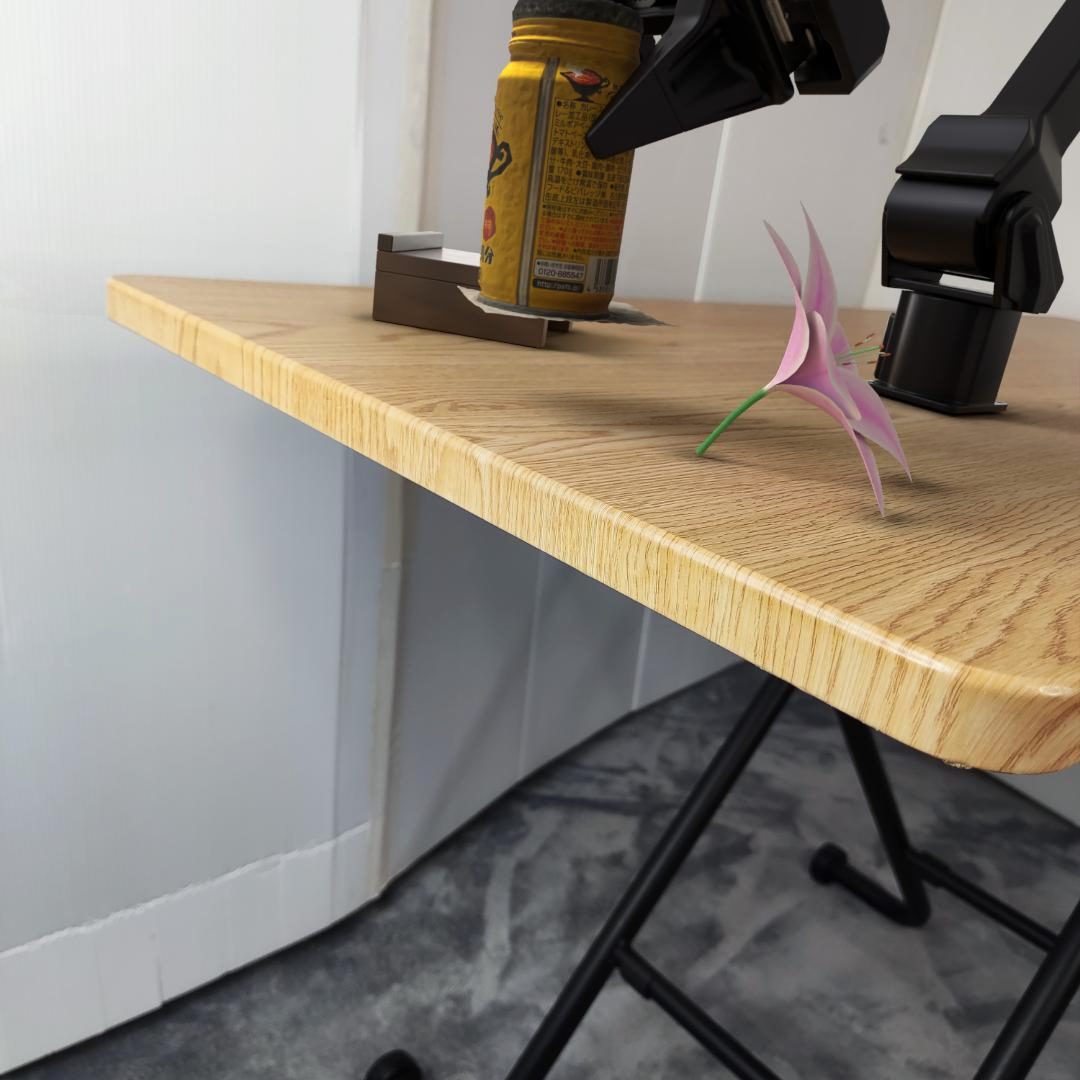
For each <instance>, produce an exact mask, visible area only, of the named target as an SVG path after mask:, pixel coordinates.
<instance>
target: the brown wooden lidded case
mask: <svg viewBox="0 0 1080 1080" xmlns="http://www.w3.org/2000/svg"><path fill="white" fill-rule="evenodd" d="M444 239H445V233H444V232H441V231H431V230H430V231H429V230H428V231H405V232H381V233H378V234H377V244H376V246H377V247H376V257H375V271H374V283H373V284H374V286H373V298H372V299H373V300H372V313H371V319H372V320H373V321H380V322H385V323H393V324H398V325H403V326H409V327H415V328H421V329H426V330H427V329H428V330H432V331H439V332H443V333H450V334H456V335H462V336H468V337H473V338H479V339H485V340H490V341H495V342H501V343H502V342H503V343H508V344H513V345H514V344H515V345H520V346H526V347H531V348H537V349H541V348H544V347H545V346H546V340H547V333H548V330H553V331H559V332H564V333H569V332H571V331H572V330H573V324H574V322H570V321H567V320H564V321H556V320H547V319H543V318H537V319H535V318H527V317H520V316H513V315H504V314H498V313H486V312H485V311H484V310H483V309H482V308H480V307H479V306H476V305H475V304H473V303H472V302H471V301H470V300H468V299H467V297H465V295H464V294H463V292H461V290H460V289H459V288H458V287H457V286H460V287H464V288H466V289H473V290H477V291H481V287H480V285H479V282H478V279H479V268H480V267H479V266H480V253H478V252H472V251H465V250H459V249H454V248H453V249H452V248H447V247H446V248H445V247H444Z"/></svg>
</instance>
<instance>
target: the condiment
mask: <svg viewBox="0 0 1080 1080" xmlns="http://www.w3.org/2000/svg"><path fill="white" fill-rule="evenodd" d="M511 13H512V14H511V17H512V18H511V21H512V30H511V39H510V40H509V42H508V52H509V54H510V57H509V62H508V64H507V65H506V66H505V67H504V68H503V69H502V71H501V73H500V74H499V75H498V78H497V82H496V83H497V85H496V92H495V95H494V99H493V100H494V111H493V123H492V131H491V132H492V133H491V142H490V154H489V163H488V170H487V175H486V186H485V187H486V192H485V193H486V195H485V201H484V209H483V210H484V211H483V223H482V227H481V247H480V253H479V254H480V266H479V267H480V268H479V279H478V282H479V285H480V287H481V291H477V290H473V289H466V288H464V287H460V286H457V287H458V288H459V289H460V290H461V292H463V294H464V295H465V297H467V299H468V300H470V301H471V302H472V303H473V304H475V305H476V306H479V307H480V308H482V309H483V310H484V311H485V312H486V313H498V314H504V315H513V316H520V317H527V318H535V319H537V318H543V319H547V320H556V321H564V320H567V321H570V322H573V323H580V322H581V323H582V322H586V323H587V322H588V323H599V324H617V325H622V324H624V325H625V324H626V325H630V326H637V327H638V326H639V327H648V326H658V327H659V326H660V327H661V326H663V327H671V328H673V327H674V328H679V326H678V325H675V324H674V325H672V324H669V323H666V322H665V321H663V320H658V319H656V318H654V317H653V316H651V315H648V314H646V313H645V312H644V311H642V310H641V309H636V308H635V307H634V305H632V304H630V303H627V302H618V301H614V300H613V298H614V296H615V289H616V280H617V274H618V268H619V259H620V255H621V247H622V241H623V234H624V227H625V221H626V215H627V207H628V200H629V196H630V195H629V194H630V188H631V187H630V186H631V179H632V175H633V174H632V173H633V168H634V160H635V153H636V149H633V150H631V151H628V152H625V153H622V154H619V155H616V156H613V157H610V158H607V159H604V160H599V159H595V158H594V157H593V155H592V153H591V152H590V150H589V148H588V146H587V145H586V143H585V134H586V133H587V131H588V130H589V128H590V127H591V126H592V124H593V123H594V121H595V120H596V119H597V117H598V116H599V115H600V113H601V112H602V110H603V109H604V108H605V106H606V105H607V104H608V103H609V101H610V100H611V99H612V98H613V96H614V95H615V94H616V93H617V92H618V90H619V89H620V88H621V87H622V85H623V84H624V83H625V82H626V80H627V79H628V78H629V77H630V76H631V74H632V73H633V72H634V71H635V69H636V68H637V67H638V66H639V65H640V54H639V47H640V41H641V35H642V34H643V30H644V27H643V19H642V17H641V16H640V15H639V13H638V12H637V11H635V10H633V9H632V8H630V7H627V6H624V5H621V4H618V3H614V2H611V1H606V0H517V2H516V4H515V5H514V8H513V10H512V12H511Z"/></svg>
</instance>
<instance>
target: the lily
mask: <svg viewBox="0 0 1080 1080" xmlns="http://www.w3.org/2000/svg"><path fill="white" fill-rule="evenodd" d="M799 203H800V207H801V210H802V213H803V216H804V219H805V224H806V226H807V232H808V241H809V243H808V244H809V252H808V254H809V255H808V265H807V272H806V278H805V285H804V290H803V280H802V277H801V272H800V268H799V266H798V263H797V262H796V259H795V257H794V255H793V253H792V252H791V251H790V249H789V247H788V246H787V244H786V243H785V241H784V240H783V239H782V237H781V236H780V235H779V233H778V232H777V231H776V230H775V228H774V227H773V226H772V225H771V224H770V223H769V222H768V221H767V220H763V219H762V222H763V224H764V226H765V229H766V230H767V233H768V235H769V237H770V239H771V241H772V243H773V245H774V248H775V249H776V251H777V254H778V256H779V257H780V260H781V262H782V264H783V267H784V270H785V271H786V273H787V276H788V278H789V281H790V283H791V284H790V285H791V286H792V289H793V290H792V291H793V294H794V302H795V317H794V322H793V327H792V331H791V334H790V337H789V340H788V343H787V347H786V350H785V353H784V355H783V358H782V361H781V363H780V366H779V368H778V370H777V372H776V374H775V376H774V377H773V378H772V380H771V381H770V382H769V383H767V384H766V385H764V387H763V388H760V389H759V390H758V391H757V392H755V393H754V394H752V395H751V396H749V398H747V399H746V400H745V401H743V402H742V403H741V404H740V405H738V407H736V408H735V409H734V410H733V411H732V412H731V413H730V414H729V415H728V416H727V417H726V418H725V419H724V420H722V422H721V423H719V425H718V426H717V427H716V428H715V429H714V430H713V431H712V432H711V434H710V435H708V437H707V438H706V439H705V440H704V441H703V442H702V443H701V444H700V446H698V448H697V449H696V450H695V453H696V454H697V455H698V456H700V457H702V455H704V453H705V452H707V450H708V449H709V448H710V447H711V446H712V445H713V443H715V441H716V440H717V439H718V438H719V437H720V436H721V435H722V434H723V433H724V432H725V431H726V430H727V429H728V428H729V426H731V425H732V424H733V423H734V422H735V420H737V419H738V418H739V417H740V416H741V415H742V414H744V412H746V411H747V410H748V409H750V408H751V407H752V406H753V405H754V404H756V403H758V402H759V401H760V400H762V399H764V398H765V397H766V396H768V395H769V394H772V393H775V392H784V393H787V394H790V395H792V396H793V397H797V398H798V399H800V400H803V401H804V402H807V403H809V404H811V405H813V406H814V407H816V408H818V409H819V410H821V411H823V412H824V413H826V414H827V415H828V416H830V417H831V418H832V419H833V420H835V421H836V422H837V423H838V424H839V425H840V426H841V427H842V428H843V429H844V430H845V431H846V432H847V435H849V437H850V438H851V439H852V441H853V442H854V444H855V446H856V448H857V450H858V452H859V454H860V456H861V459H862V461H863V463H864V467H865V470H866V472H867V475H868V478H869V480H870V483H871V486H872V489H873V492H874V495H875V498H876V502H877V504H878V507H879V510H880V513H881V517H882V518H884V517H885V500H884V493H883V486H882V481H881V478H880V472H879V468H878V464H877V461H876V459H875V454H874V452H873V450H872V449H871V447H870V445H869V443H868V441H867V439H869V440H870V441H872V442H874V443H875V444H877V445H878V446H880V447H881V448H882V449H884V450H886V451H887V452H888V453H890V455H892V456H893V458H895V459H896V460H897V461H898V462H899V463H900V464H901V466H902V467H903V469H904V470H905V473H906V474H907V476H908V479H909V480H910V481H911V483H913V480H912V476H911V472H910V469H909V465H908V461H907V458H906V455H905V452H904V449H903V447H902V444H901V440H900V439H899V435H898V433H897V430H896V428H895V425H894V423H893V420H892V419H891V415H890V414H889V411H888V410H887V408H886V407H885V404H884V403H883V401H882V400H881V398H880V396H879V393H878V392H875V391H874V390H873V389H872V387H871V386H870V385H869V384H868V383H867V381H866V380H867V379H865V378H863V377H861V376H860V375H859V369H858V364H860V363H867V364H868V365H870V364H871V365H872V364H876V363H877V360H872V359H866V360H858V361H857V360H856V359H860V358H863V357H867V356H871V355H879V354H881V356H889V355H890V353H887V354H885V353H884V352H880V351H879V352H873V351H876V350H880V349H883V347H884V346H883V345H882V343H880V344H879V345H876V346H872V347H868V348H864V349H860V350H856V351H853V349H856V348H857V347H859V346H861V345H862V344H864V343H866V342H868V341H869V340H871V338H872V337H873V336H875V332H873V333H871V334H869V335H868V336H866V337H865V340H863V341H859V342H857V343H855V344H854V345H853V346H852V347H851V346H850V343H849V341H848V338H847V335H846V332H845V330H844V328H843V326H842V324H841V322H839V320H838V316H839V303H838V302H839V301H838V291H837V288H836V287H837V286H836V283H835V278H834V275H833V270H832V267H831V265H830V262H829V259H828V257H827V254H826V251H825V249H824V246H823V243H822V241H821V239H820V237H819V235H818V232H817V230H816V228H815V226H814V224H813V222H812V220H811V217H810V216H809V214H808V212H807V210H806V207H805V206H804V204H803V202H802V201H801V200H799ZM802 294H803V295H802ZM869 352H870V353H869ZM864 353H866V354H864ZM860 354H861V355H860ZM856 355H857V356H856ZM865 437H866V438H865Z"/></svg>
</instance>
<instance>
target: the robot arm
mask: <svg viewBox="0 0 1080 1080" xmlns="http://www.w3.org/2000/svg"><path fill="white" fill-rule="evenodd" d="M606 1H611V2H614V3H618V4H621V5H624V6H627V7H630V8H632V9H633V10H635V11H637V12H638V13H639V15H640V16H641V17H642V19H643V27H644V30H643V34H642V35H641V41H640V47H639V54H640V65H639V66H638V67H637V68H636V69H635V71H634V72H633V73H632V74H631V76H630V77H629V78H628V79H627V80H626V82H625V83H624V84H623V85H622V87H621V88H620V89H619V90H618V92H617V93H616V94H615V95H614V96H613V98H612V99H611V100H610V101H609V103H608V104H607V105H606V106H605V108H604V109H603V110H602V112H601V113H600V115H599V116H598V117H597V119H596V120H595V121H594V123H593V124H592V126H591V127H590V128H589V130H588V131H587V133H586V134H585V143H586V145H587V146H588V148H589V150H590V152H591V153H592V155H593V157H594V158H595V159H599V160H604V159H607V158H610V157H613V156H616V155H619V154H622V153H625V152H628V151H631V150H633V149H635V150H637V149H640V148H642V147H645V146H648V145H651V144H654V143H656V142H657V143H658V142H660V141H663V140H665V139H669V138H671V137H674V136H678V135H680V134H683V133H688V132H690V131H694V130H696V129H700V128H702V127H705V126H708V125H712V124H715V123H718V122H721V121H724V120H728V119H731V118H734V117H737V116H741V115H744V114H748V113H751V112H754V111H756V110H760V109H763V108H767V107H771V106H781V105H782V106H783V105H784V104H786V103H788V102H790V101H791V100H792V99H793V98H794V95H795V87H796V89H797V92H798V95H799V96H850V95H851V94H852V93H853V92H854V91H855V90H856V89H857V88H858V87H859V86H860V85H861V84H862V82H864V81H865V80H866V79H867V78H868V76H869V75H870V74H872V72H874V71H875V69H876V68H877V67H878V66H879V65H881V63H882V61H883V57H884V56H885V52H886V47H887V44H888V43H887V42H888V40H889V34H890V30H891V25H890V21H889V18H888V15H887V11H886V8H885V5H884V1H883V0H606ZM656 36H660V37H661V38H660V39H659V40H658V41H656V39H655V37H656ZM791 75H793V81H794V83H793V81H792V78H791ZM794 84H795V86H794ZM1079 133H1080V0H1064V2H1063V3H1062V5H1061V6H1060V7H1059V9H1058V10H1057V12H1056V13H1055V14H1054V15H1053V17H1052V19H1051V20H1050V22H1049V23H1048V24H1047V26H1046V27H1045V28H1044V29H1043V31H1042V32H1041V34H1040V36H1039V37H1038V38H1037V40H1036V41H1035V42H1034V44H1033V45H1032V46H1031V47H1030V49H1029V51H1028V52H1027V54H1026V55H1024V58H1023V59H1022V61H1021V62H1020V63H1019V65H1018V66H1017V67H1016V68H1015V70H1014V71H1013V73H1012V74H1011V76H1010V77H1009V78H1008V80H1007V82H1006V83H1005V84H1004V86H1003V87H1002V88H1001V90H1000V91H999V93H998V94H997V95H996V97H995V98H994V99H993V101H992V102H991V103H990V105H989V106H988V107H987V108H986V109H985V110H984V111H982V112H981V113H980V114H940V115H938V116H937V117H936V118H935V119H934V120H933V121H932V122H931V123H930V124H929V125H928V126H927V127H926V129H925V131H924V132H923V135H922V137H921V138H920V140H919V141H918V144H917V145H916V147H915V149H914V150H913V151H912V153H911V154H910V155H909V156H908V157H907V158H906V159H905V160H904V161H903V162H901V163H900V164H899V165H896V167H895V169H894V173H895V174H897V175H900V176H899V178H897V180H896V181H895V182H894V184H893V186H892V187H891V189H890V191H889V192H888V195H887V196H886V199H885V202H884V203H883V211H882V217H881V256H880V257H881V259H880V261H881V262H880V263H881V264H880V265H881V266H880V269H881V271H880V285H881V286H882V287H884V288H888V289H897V290H900V293H899V298H898V302H897V305H896V310H895V311H894V312H891V313H890V314H889V315H888V316H887V317H888V318H887V321H886V325H885V329H884V332H883V336H882V340H881V344H882V345H883V346H884V347H883V349H879V352H884V353H885V354H887V353H890V355H889V356H881V354H878V356H877V360H876V361H877V363H875V368H874V371H873V377H874V379H865V380H866V381H867V383H868V384H869V385H870V386H871V387H872V389H873V390H874V391H875V392H876V393H877V394H882V395H886V396H889V397H893V398H896V399H899V400H903V401H907V402H910V403H913V404H917V405H920V406H924V407H928V408H931V409H935V410H937V411H941V412H946V413H949V414H969V413H971V414H972V413H988V412H989V413H991V412H1006V411H1007V410H1008V406H1009V403H1007V402H1004V401H1001V400H997V398H998V394H999V390H1000V387H1001V385H1002V381H1003V378H1004V374H1005V371H1006V368H1007V365H1008V361H1009V358H1010V355H1011V351H1012V349H1013V345H1014V342H1015V339H1016V335H1017V332H1018V328H1019V326H1020V322H1021V319H1022V316H1023V314H1024V313H1025V314H1031V315H1039V314H1044V315H1045V314H1047V313H1048V312H1049V311H1050V309H1051V307H1052V305H1053V303H1054V301H1055V300H1056V298H1057V296H1058V294H1059V292H1060V290H1061V289H1062V286H1063V284H1064V280H1065V277H1064V272H1063V267H1062V263H1061V259H1060V254H1059V251H1058V246H1057V241H1056V237H1055V233H1054V228H1053V220H1054V219H1055V217H1056V215H1057V214H1058V212H1059V210H1060V208H1061V207H1062V203H1063V164H1062V163H1063V162H1062V161H1063V158H1064V155H1066V151H1067V150H1068V149H1069V147H1070V146H1071V144H1072V143H1073V142H1074V140H1075V139H1076V137H1077V136H1078V134H1079ZM943 275H947V276H951V277H957V278H963V279H964V278H965V279H969V280H974V281H975V280H977V281H982V282H988V283H992V284H993V289H992V290H988V289H983V288H978V287H973V286H966V285H960V284H956V283H949V282H944V281H941V280H942V279H943V278H942V277H943Z"/></svg>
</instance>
